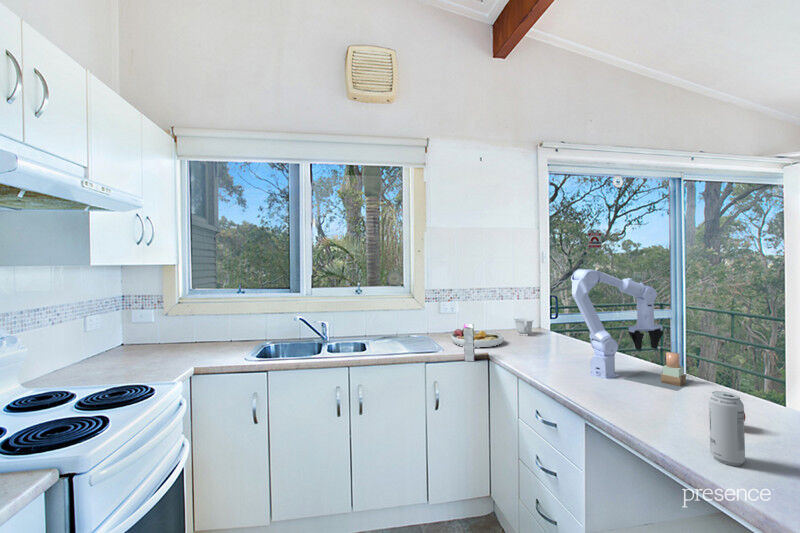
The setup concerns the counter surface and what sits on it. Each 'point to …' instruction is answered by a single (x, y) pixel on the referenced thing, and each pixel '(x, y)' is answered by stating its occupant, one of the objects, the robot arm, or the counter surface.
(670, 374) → the sage top block
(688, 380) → the rubber mat
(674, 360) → the terracotta cylinder
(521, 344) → the counter surface
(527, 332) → the white planter pot
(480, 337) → the bowl
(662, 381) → the walnut base block
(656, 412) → the counter surface
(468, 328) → the candy bar box
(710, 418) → the energy drink can
